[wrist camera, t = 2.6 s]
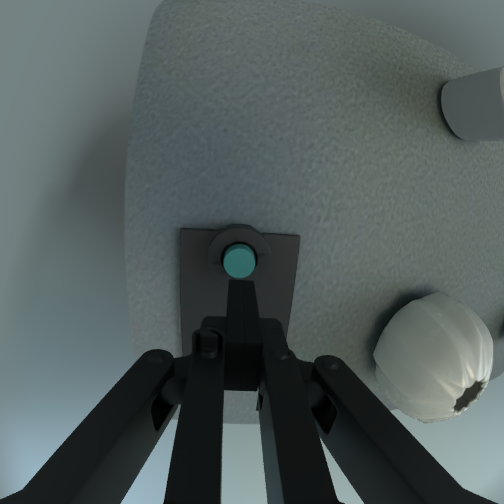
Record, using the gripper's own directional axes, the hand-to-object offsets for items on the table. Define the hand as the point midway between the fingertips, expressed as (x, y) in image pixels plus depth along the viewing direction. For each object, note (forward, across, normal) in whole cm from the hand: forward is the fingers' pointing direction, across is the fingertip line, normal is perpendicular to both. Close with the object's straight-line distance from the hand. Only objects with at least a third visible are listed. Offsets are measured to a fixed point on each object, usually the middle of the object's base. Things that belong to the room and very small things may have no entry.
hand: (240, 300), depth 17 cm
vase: (+10, +22, -9) cm, 26 cm away
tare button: (+8, 0, 0) cm, 8 cm away
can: (+10, +24, +19) cm, 32 cm away
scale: (+10, 0, -6) cm, 11 cm away
